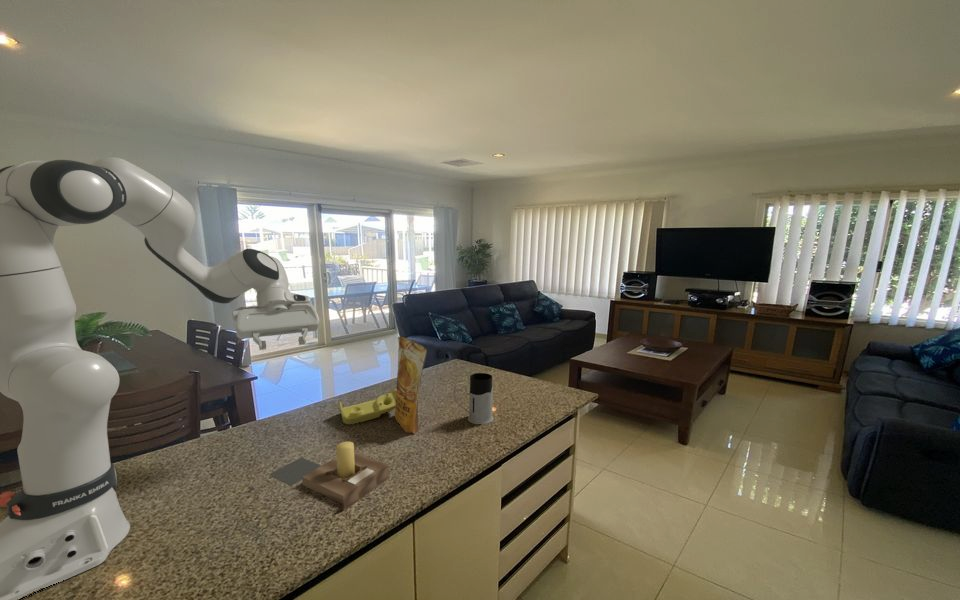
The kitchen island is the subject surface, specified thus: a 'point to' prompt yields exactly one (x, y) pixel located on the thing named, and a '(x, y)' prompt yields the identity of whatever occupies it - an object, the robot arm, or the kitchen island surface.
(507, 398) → the kitchen island surface
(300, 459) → the plate
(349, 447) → the peg
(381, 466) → the hole block
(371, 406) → the plastic component
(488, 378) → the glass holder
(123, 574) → the kitchen island surface
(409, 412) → the pancake mix bag
